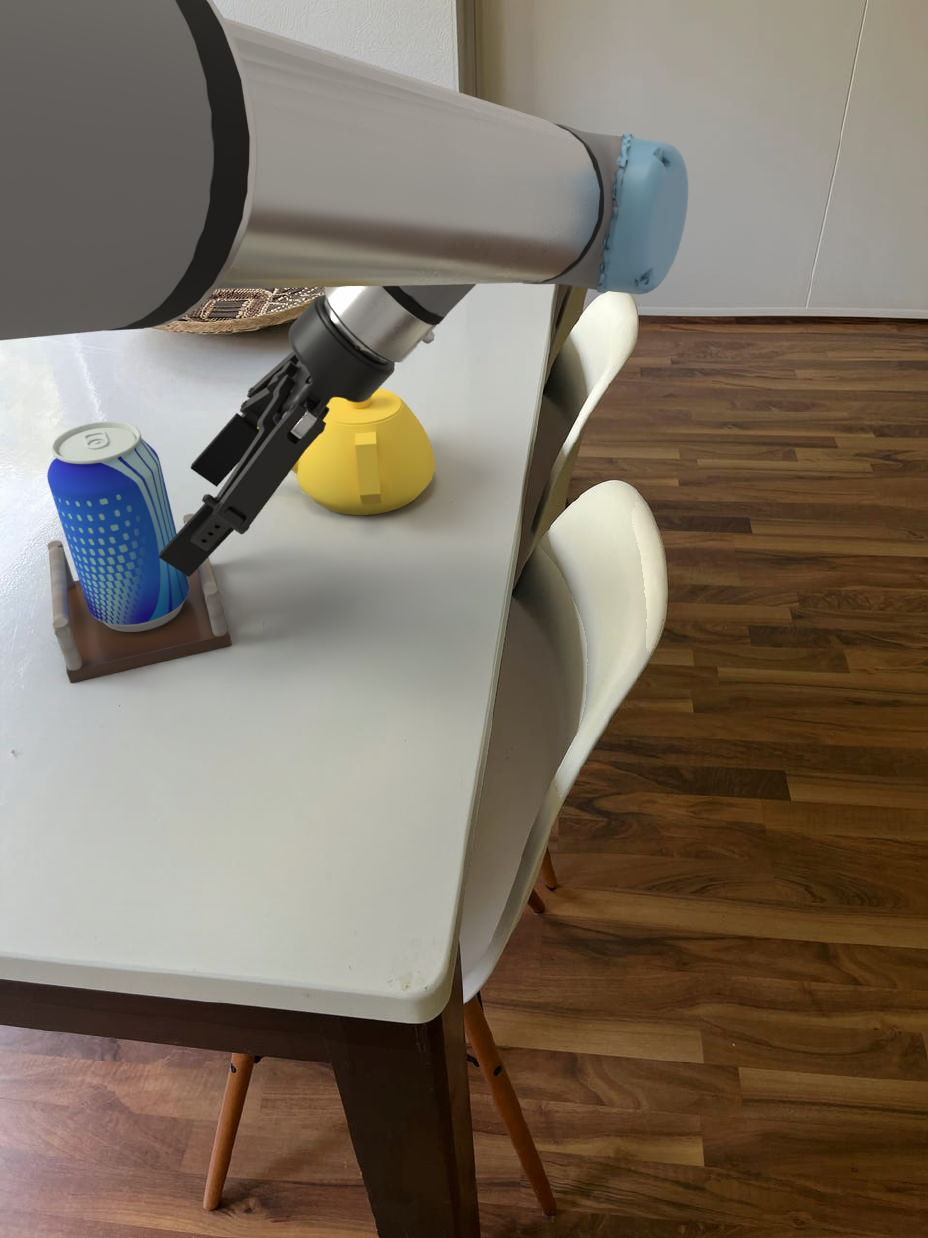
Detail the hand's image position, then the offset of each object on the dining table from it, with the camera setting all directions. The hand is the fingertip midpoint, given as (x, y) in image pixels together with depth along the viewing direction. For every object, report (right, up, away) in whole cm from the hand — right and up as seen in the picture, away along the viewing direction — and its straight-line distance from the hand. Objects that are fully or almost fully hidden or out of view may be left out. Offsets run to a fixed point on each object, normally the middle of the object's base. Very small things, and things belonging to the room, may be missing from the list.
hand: (190, 517), depth 80 cm
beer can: (-6, -7, +5) cm, 11 cm away
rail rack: (-6, -8, +6) cm, 12 cm away
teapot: (+10, +5, +23) cm, 26 cm away
